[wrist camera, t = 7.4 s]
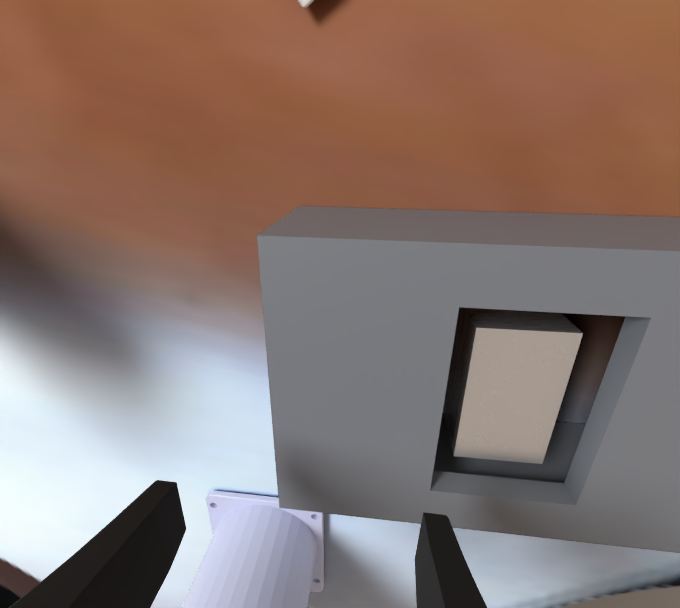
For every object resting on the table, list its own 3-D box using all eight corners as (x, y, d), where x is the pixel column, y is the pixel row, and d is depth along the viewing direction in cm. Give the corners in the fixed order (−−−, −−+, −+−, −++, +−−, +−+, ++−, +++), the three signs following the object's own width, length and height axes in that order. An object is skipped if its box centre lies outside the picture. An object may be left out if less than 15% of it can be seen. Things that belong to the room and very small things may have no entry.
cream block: (504, 388, 19) (542, 464, 15) (437, 383, 19) (453, 456, 15) (528, 282, 17) (583, 333, 12) (451, 279, 17) (476, 327, 12)
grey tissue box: (633, 442, 19) (731, 558, 14) (306, 414, 21) (279, 507, 16) (734, 218, 15) (944, 261, 9) (299, 206, 16) (257, 235, 11)
